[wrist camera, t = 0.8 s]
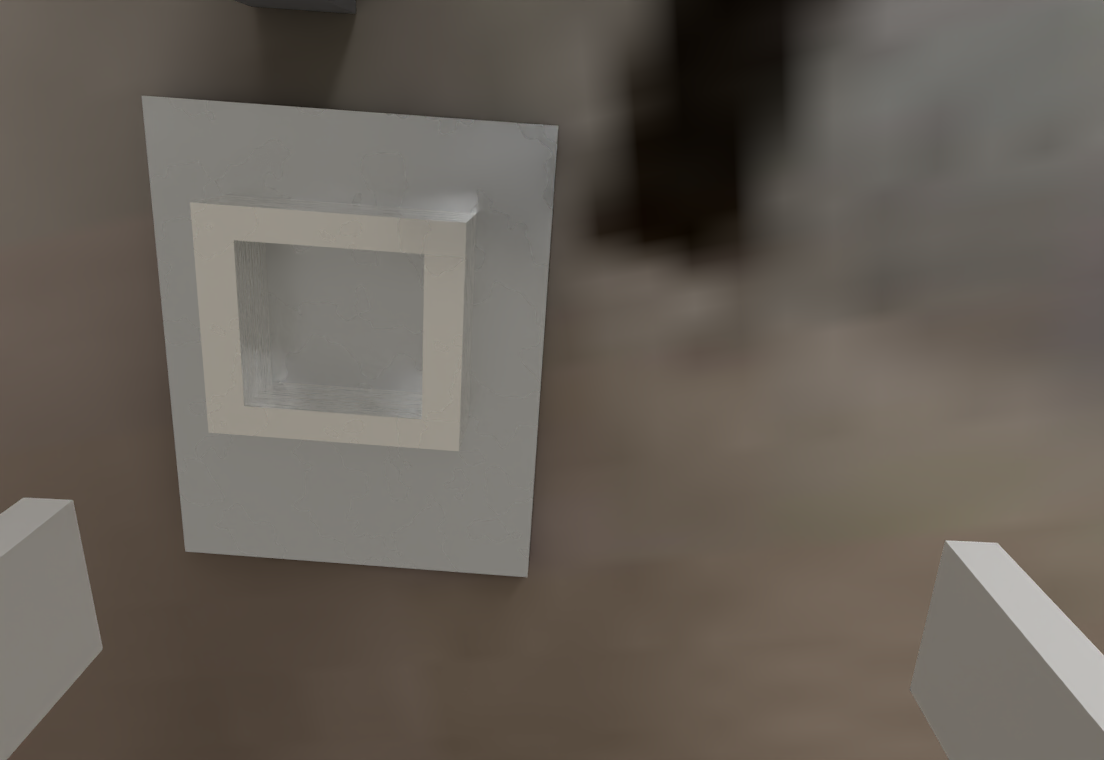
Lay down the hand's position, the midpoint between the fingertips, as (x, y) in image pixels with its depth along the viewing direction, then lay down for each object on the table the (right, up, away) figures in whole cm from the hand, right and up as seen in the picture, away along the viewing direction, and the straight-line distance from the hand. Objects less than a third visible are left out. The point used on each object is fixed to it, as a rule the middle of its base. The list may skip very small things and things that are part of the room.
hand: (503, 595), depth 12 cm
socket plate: (-8, +4, +22) cm, 24 cm away
